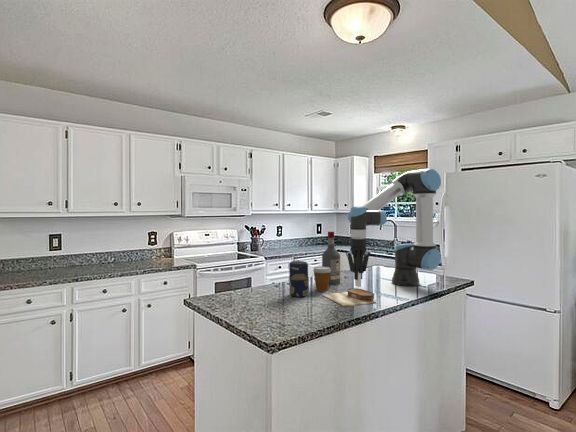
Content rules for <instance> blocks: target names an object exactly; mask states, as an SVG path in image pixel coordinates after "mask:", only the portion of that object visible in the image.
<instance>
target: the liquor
mask: <svg viewBox="0 0 576 432" xmlns="http://www.w3.org/2000/svg"><path fill="white" fill-rule="evenodd" d="M327 237H328V238H327V248H326V250H325V251H324V252H323V253H322V255H321V259H322V260H321V266H324V267H330V270H331V271H330V276H329V284H328V285H337V284H338V285H339V284H340V283H341V255H340V253H339V252H338V250H337V249H336V248H335V231H327Z"/></svg>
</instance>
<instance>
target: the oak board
mask: <svg viewBox="0 0 576 432" xmlns="http://www.w3.org/2000/svg"><path fill="white" fill-rule="evenodd" d="M322 296H323V297H325V298H326V299H328V300H330V301H332V302H334V303H336V304H338V305H340V306H342V307H343V308H347V307H354V306H355V307H356V306H363V305H370V304H371V305H372V304H377V301H376V300H374V299H373V300H368V301H363V300H359V299H356V298H353V297H351V296H349V295H348V291H343V292H336V293H325V294H322Z"/></svg>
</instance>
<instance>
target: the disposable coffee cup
mask: <svg viewBox="0 0 576 432" xmlns="http://www.w3.org/2000/svg"><path fill="white" fill-rule="evenodd" d="M312 271H313V275H314V282H315V291H317V292H327V291H328V290H329V285H330V284H329V276H330V271H331V270H330V267H324V266H322V265H321V266H320V265H319V266H314V267H313V269H312Z"/></svg>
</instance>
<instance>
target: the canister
mask: <svg viewBox="0 0 576 432" xmlns="http://www.w3.org/2000/svg"><path fill="white" fill-rule="evenodd" d="M308 263H309V262H307V261H304V260H303V261H302V260H299V259H298V260H295V261H290V262H289V271H288V274H289V284H288V285H289V288H288V289H289V295H290V296H292V297H298V298H299V297H306V296H308V295H309V264H308Z"/></svg>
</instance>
